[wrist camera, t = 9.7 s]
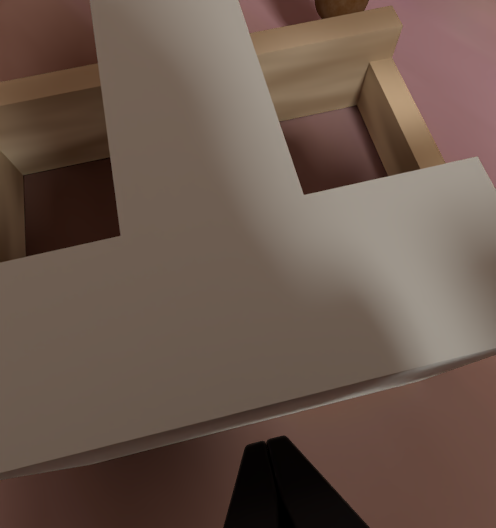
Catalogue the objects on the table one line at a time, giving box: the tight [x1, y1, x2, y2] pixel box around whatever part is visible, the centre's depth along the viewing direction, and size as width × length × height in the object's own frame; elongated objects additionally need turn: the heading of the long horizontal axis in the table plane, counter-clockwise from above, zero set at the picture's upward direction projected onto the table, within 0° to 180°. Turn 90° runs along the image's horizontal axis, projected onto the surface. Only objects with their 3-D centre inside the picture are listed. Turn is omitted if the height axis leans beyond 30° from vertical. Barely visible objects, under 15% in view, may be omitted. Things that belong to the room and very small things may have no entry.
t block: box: [0, 0, 496, 480], centre depth 13 cm, size 12×12×8 cm
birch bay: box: [0, 6, 446, 262], centre depth 16 cm, size 13×18×4 cm
